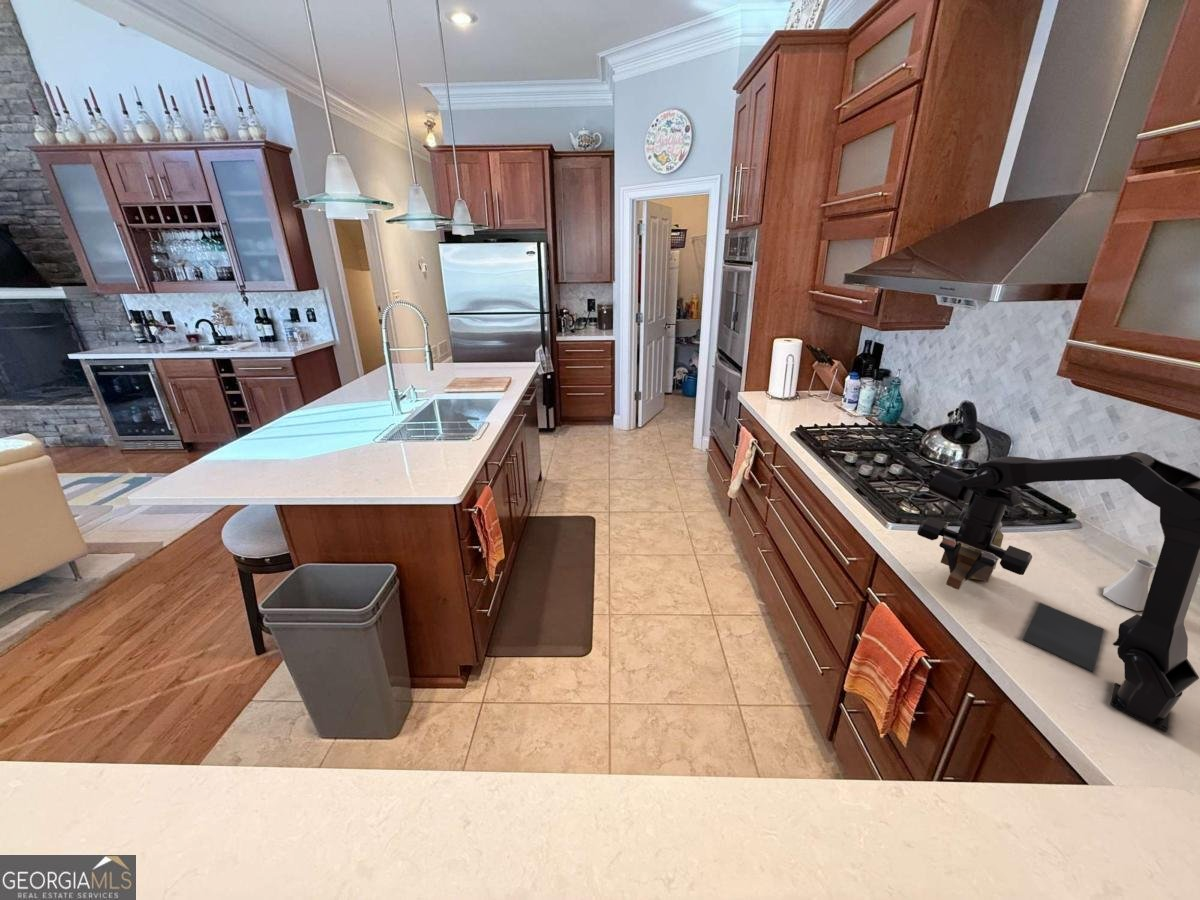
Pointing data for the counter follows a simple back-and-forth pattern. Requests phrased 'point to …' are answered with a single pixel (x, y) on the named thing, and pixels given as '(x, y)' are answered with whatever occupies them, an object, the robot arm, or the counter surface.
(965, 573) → the brush
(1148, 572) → the flask
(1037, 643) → the mat
